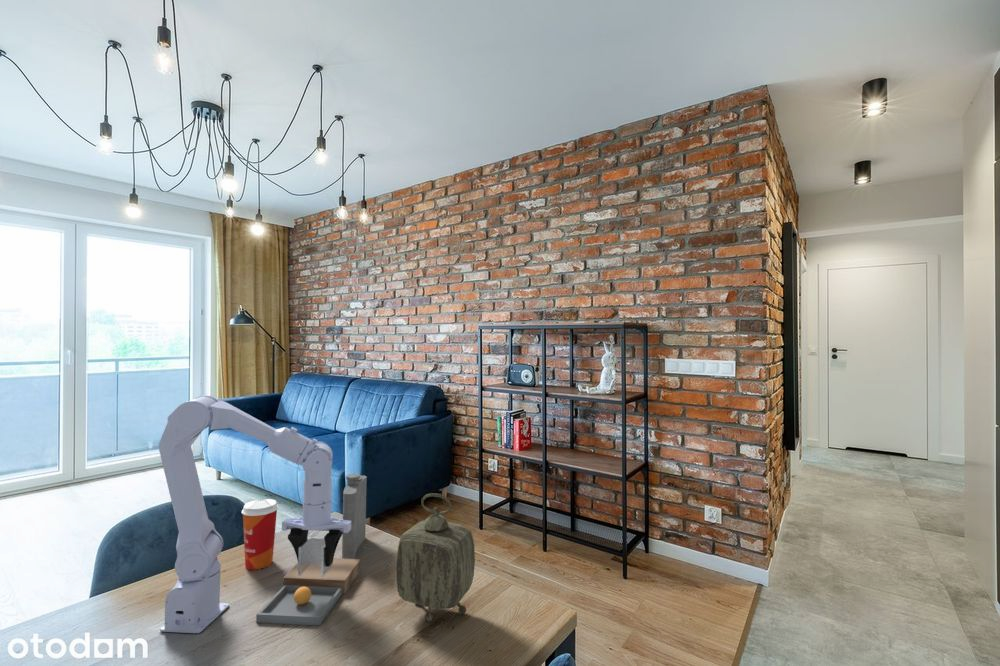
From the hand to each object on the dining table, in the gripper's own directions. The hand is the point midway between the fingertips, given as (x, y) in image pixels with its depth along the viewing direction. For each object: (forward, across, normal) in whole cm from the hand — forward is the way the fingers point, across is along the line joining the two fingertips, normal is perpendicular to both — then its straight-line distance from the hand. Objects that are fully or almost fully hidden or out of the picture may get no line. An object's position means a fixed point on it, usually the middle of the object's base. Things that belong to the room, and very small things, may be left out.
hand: (315, 563), depth 102 cm
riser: (+8, +2, -8) cm, 11 cm away
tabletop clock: (+8, -26, +4) cm, 28 cm away
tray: (+8, +2, +3) cm, 9 cm away
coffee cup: (+8, +21, -14) cm, 26 cm away
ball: (+6, +2, +2) cm, 6 cm away
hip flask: (+8, +1, -24) cm, 26 cm away
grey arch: (+1, 0, 0) cm, 1 cm away
